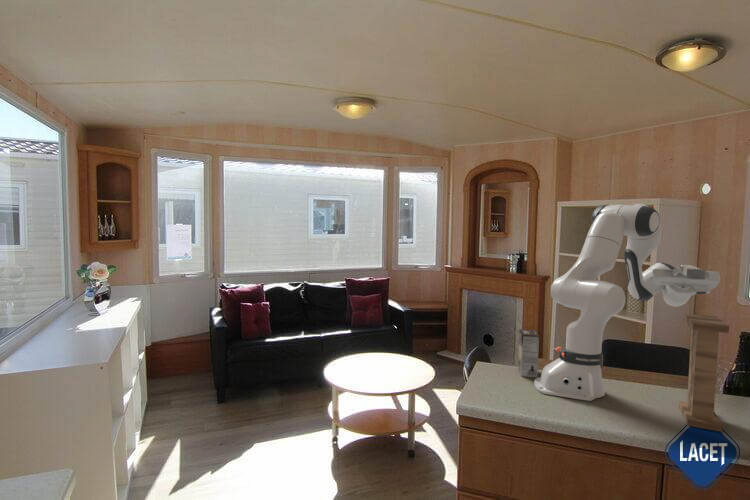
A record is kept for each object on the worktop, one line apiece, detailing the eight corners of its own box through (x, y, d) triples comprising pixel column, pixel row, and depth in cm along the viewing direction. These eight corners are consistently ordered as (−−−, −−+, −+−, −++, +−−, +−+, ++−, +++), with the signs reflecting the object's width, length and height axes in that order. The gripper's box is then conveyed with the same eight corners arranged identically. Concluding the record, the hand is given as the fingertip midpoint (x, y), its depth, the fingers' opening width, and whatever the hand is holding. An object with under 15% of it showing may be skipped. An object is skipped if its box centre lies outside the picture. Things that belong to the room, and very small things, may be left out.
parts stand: (722, 431, 120) (729, 325, 118) (687, 425, 123) (693, 322, 121) (710, 412, 132) (716, 316, 130) (679, 407, 136) (684, 313, 134)
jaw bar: (706, 279, 137) (707, 270, 137) (687, 278, 139) (688, 269, 139) (693, 273, 155) (694, 265, 155) (677, 272, 157) (677, 264, 157)
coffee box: (517, 368, 171) (518, 328, 170) (534, 369, 169) (535, 329, 168) (520, 376, 162) (521, 334, 161) (538, 377, 160) (539, 335, 159)
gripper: (648, 274, 169) (653, 259, 158) (713, 278, 160) (723, 262, 148) (649, 289, 166) (653, 274, 155) (714, 294, 157) (724, 278, 146)
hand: (688, 268), depth 152 cm, fingers closed on jaw bar, 3 cm apart
